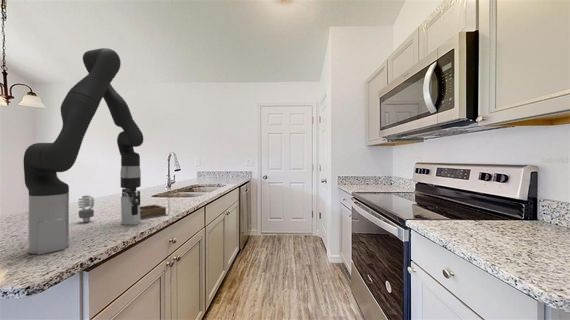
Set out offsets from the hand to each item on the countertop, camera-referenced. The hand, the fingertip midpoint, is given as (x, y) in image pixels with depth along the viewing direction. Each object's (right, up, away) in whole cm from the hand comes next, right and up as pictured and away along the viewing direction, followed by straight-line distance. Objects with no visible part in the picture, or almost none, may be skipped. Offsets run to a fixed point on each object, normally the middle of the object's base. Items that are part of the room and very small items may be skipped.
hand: (130, 213), depth 111 cm
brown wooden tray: (-1, -4, +16) cm, 17 cm away
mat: (-1, -4, +15) cm, 16 cm away
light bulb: (-21, -5, +1) cm, 21 cm away
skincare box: (0, -5, 0) cm, 5 cm away
